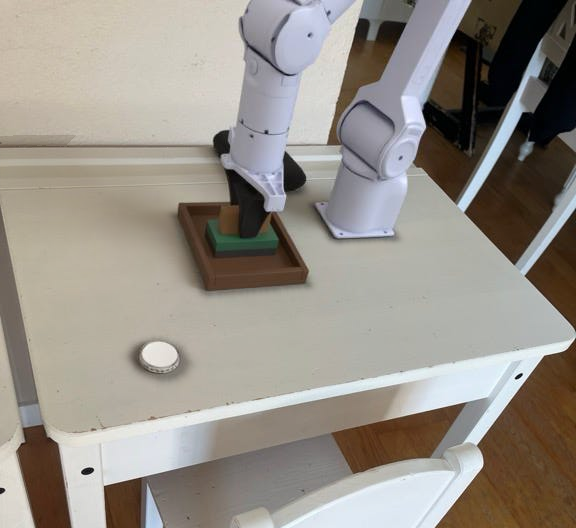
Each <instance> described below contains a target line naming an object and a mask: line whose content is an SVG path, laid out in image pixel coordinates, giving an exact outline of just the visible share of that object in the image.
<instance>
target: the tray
mask: <svg viewBox="0 0 576 528" xmlns="http://www.w3.org/2000/svg"><path fill="white" fill-rule="evenodd" d="M221 206H230V201H200V202H195V201H194V202H178V208H177V219H178V221H179V224H180V226H181V229H182V232H183V234H184V237H185V239H186V241H187V244H188V246H189V249H190V252H191V255H192V256H193V259H194V262H195V264H196V266H197V269H198V272H199V274H200V276H201V279H202V281H203V284H204V286H205V289H206V291H208V292H210V291H223V290H236V289H248V288H250V289H251V288H263V287H264V288H265V287H275V286H276V287H277V286H289V285H290V286H291V285H302V284H303V285H304V284H306V282H307V278H308V276H309V272H310V270H309V268H308V266H307V264H306V262H305V261H304V259H303V257H302V255H301V254H300V252H299V250H298V248H297V246H296V244H295V243H294V241H293V239H292V237H291V236H290V234H289V232H288V230H287V228H286V227H285V225H284V222H283V221H282V220H281V218H280V216H279V213H277V212H278V211H275V212H272V215H271V219H270V224H271V226H272V228H273V230H274V232H275V234H276V236H277V237H278V239H279V241H278V245H277V249H276V253H275V255H267V256H248V257H230V258H214V256H213V254H212V252H211V249H210V247H209V245H208V242H207V240H206V238H205V230H206V222H207V220H219V216H220V210H221Z"/></svg>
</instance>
